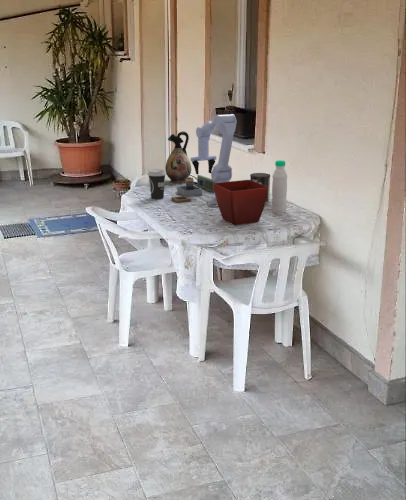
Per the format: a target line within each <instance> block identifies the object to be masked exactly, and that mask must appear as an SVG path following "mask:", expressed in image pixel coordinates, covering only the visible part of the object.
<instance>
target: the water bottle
mask: <svg viewBox="0 0 406 500" xmlns="http://www.w3.org/2000/svg"><path fill="white" fill-rule="evenodd" d="M274 165H275V169H274V171H273V174H272V183H271V184H272V185H271V188H272V189H271V197H272V198H271V213H273V214H277V215H282V214H285V213H286V212H287V192H288V174H287V171H286V169H285V167H286V161H285V160H275V164H274Z"/></svg>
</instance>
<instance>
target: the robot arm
mask: <svg viewBox="0 0 406 500" xmlns="http://www.w3.org/2000/svg"><path fill="white" fill-rule="evenodd" d="M237 123H238V121H237V117H236V116H235V114H233V113H231V114H216V115H215V116H214V119H213V120H212V121H211V120H209V121H208V120H207V121H206V122H205V124H203V125H202V126H197V128H195V133H196V138H197V148H198V150H197V154H198V156H193V157H190V162H191V163H192V164H191V165H193V167H194V171H195V174H196V175H199V167H200V161H201V162H202V161H207V163H208V173H209V174H210V176H211V178H210V179H212V180H213V181H214V182H215V183H221V182H231V179H232V176H233V167H232V166H231V165H230V164H229V162H230V156H231V151H232V146H233V141H234V134H235V132H236V127H237ZM216 128H217V131H218V132H219V134H221V135H222V139H221V145H220V151H219V156H218V161H217V163H216V160H217V156H216V155H210V154H209V153H210V152H209V151H210V150H209V149H210V147H209V146H210V145H209V141H210V138H211V134H212V133H214V132H215V131H216ZM211 198H213V199H215V200H216V195H215V194H214V195H212V196H211Z"/></svg>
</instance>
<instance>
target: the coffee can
mask: <svg viewBox="0 0 406 500" xmlns="http://www.w3.org/2000/svg"><path fill="white" fill-rule="evenodd" d="M249 176H250V179H249V180H252V181H255V182H257V183H260V184H262V185H265V186H267V187H268V193H267V198H266V202H265V204H268V203H270V193H271V192H270V190H271V189H270V186H271V174H270V173H265V172H253V173H250V174H249Z"/></svg>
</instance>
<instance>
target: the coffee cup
mask: <svg viewBox="0 0 406 500" xmlns="http://www.w3.org/2000/svg"><path fill="white" fill-rule="evenodd" d="M147 176H148V181H149V188H150V189H149V190H150V198H151V200H163V199H164V198H165V196H164V195H165V179H166V176H167V174H166V171H165V170H164V169H162V168H158V169H157V168H154V169H153V168H152V169H150V170H148V172H147Z"/></svg>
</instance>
